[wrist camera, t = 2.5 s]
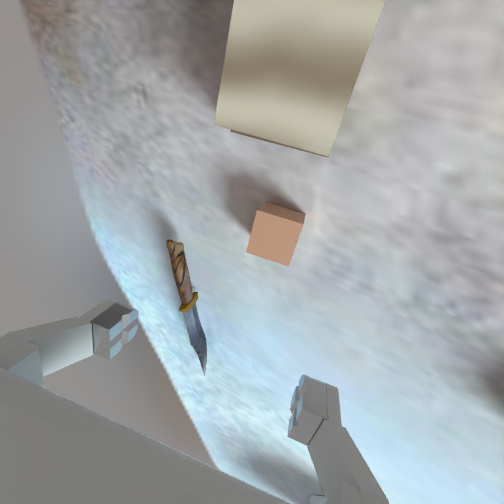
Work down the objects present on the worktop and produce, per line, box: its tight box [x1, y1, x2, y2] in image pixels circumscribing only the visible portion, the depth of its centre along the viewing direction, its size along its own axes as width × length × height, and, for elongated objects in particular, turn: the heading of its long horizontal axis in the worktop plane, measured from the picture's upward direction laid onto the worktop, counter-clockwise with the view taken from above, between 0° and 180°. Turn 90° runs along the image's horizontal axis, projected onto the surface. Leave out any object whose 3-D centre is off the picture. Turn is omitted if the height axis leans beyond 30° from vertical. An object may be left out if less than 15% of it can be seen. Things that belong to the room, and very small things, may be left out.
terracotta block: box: [246, 202, 305, 266], centre depth 28 cm, size 5×5×5 cm
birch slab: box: [214, 0, 386, 156], centre depth 19 cm, size 10×10×4 cm
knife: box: [167, 240, 207, 376], centre depth 36 cm, size 25×1×5 cm, turn 5°
